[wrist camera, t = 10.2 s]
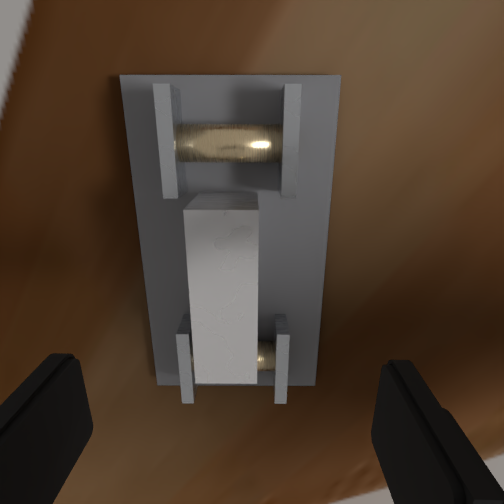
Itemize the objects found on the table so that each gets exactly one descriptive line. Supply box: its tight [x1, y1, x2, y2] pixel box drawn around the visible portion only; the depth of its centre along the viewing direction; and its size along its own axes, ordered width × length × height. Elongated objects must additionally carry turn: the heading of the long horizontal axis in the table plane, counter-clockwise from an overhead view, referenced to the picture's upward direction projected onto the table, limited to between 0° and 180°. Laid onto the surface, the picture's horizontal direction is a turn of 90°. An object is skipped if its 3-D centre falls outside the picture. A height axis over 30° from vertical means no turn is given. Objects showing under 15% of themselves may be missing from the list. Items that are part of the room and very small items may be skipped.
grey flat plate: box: [120, 75, 341, 386], centre depth 21 cm, size 12×21×1 cm, turn 0°
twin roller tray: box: [153, 84, 302, 404], centre depth 20 cm, size 7×20×2 cm, turn 0°
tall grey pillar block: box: [183, 192, 259, 384], centre depth 19 cm, size 4×10×5 cm, turn 0°
